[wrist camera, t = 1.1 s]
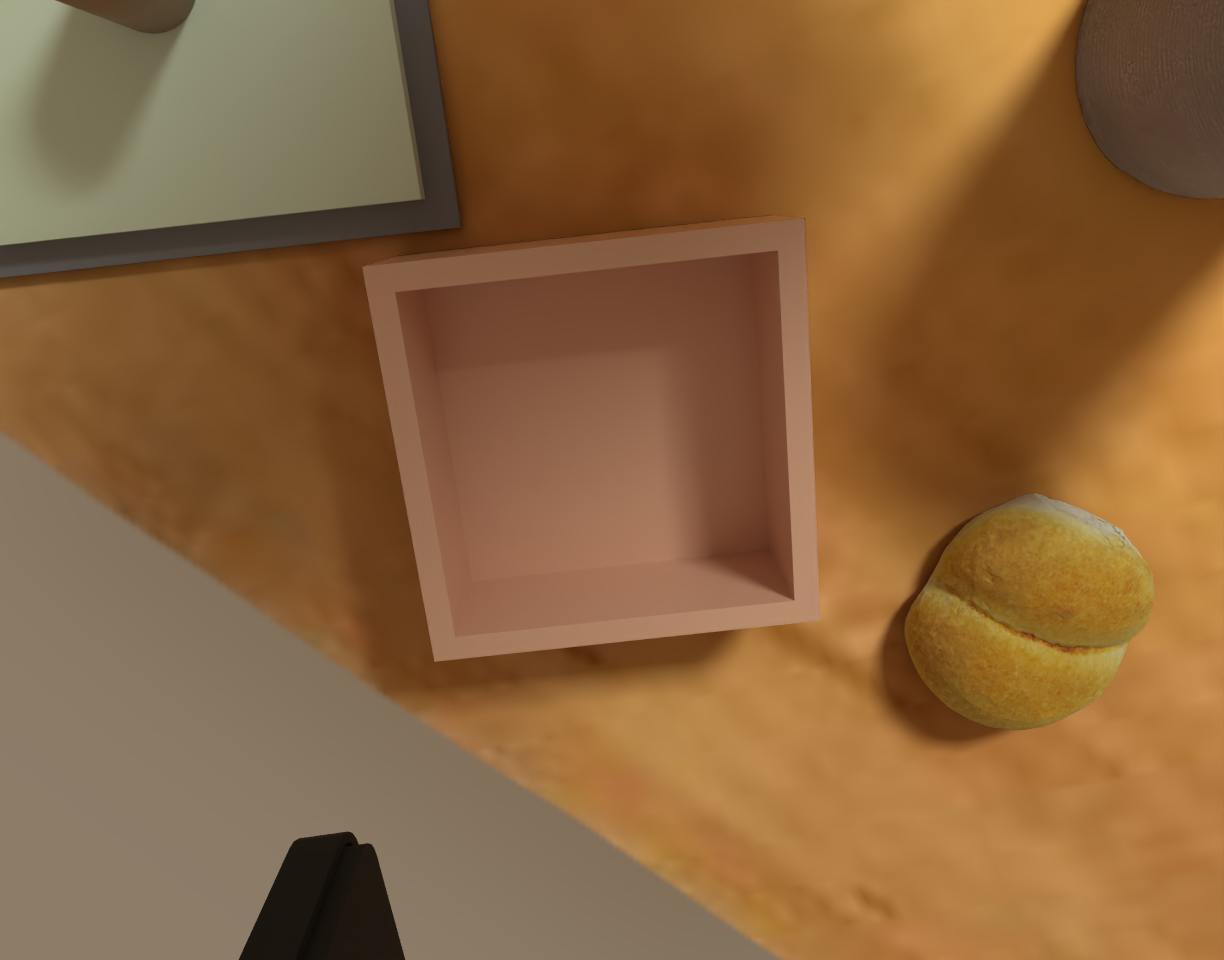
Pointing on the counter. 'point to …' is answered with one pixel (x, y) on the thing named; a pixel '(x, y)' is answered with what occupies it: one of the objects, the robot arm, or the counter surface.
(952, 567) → the bread roll
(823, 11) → the counter surface
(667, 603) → the open box
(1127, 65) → the pillar candle
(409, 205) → the mat
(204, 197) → the lid
